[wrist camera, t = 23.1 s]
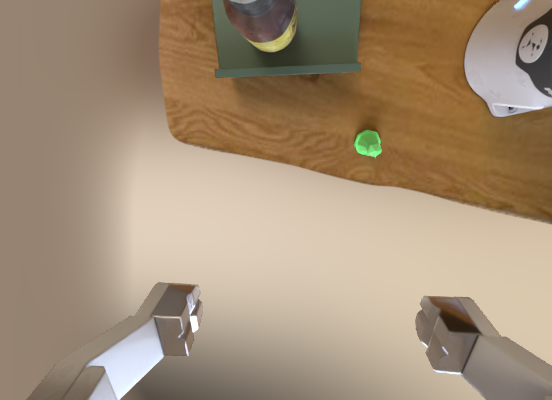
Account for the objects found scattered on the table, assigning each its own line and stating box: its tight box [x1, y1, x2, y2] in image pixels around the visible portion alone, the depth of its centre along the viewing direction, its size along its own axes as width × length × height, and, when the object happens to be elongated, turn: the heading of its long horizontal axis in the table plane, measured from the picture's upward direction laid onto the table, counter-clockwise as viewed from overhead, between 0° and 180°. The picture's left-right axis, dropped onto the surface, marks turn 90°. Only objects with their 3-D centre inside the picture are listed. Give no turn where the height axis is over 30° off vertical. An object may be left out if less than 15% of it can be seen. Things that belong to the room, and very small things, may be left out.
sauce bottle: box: [223, 0, 297, 52], centre depth 26 cm, size 6×6×20 cm
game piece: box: [354, 129, 382, 157], centre depth 44 cm, size 4×4×6 cm
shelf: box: [212, 0, 361, 78], centre depth 37 cm, size 18×12×10 cm, turn 92°
